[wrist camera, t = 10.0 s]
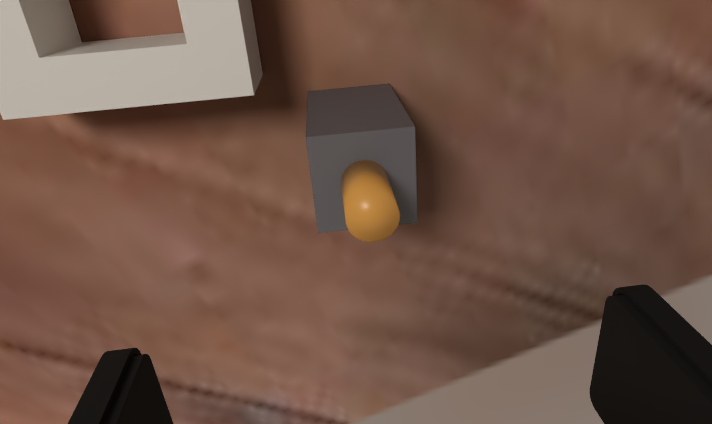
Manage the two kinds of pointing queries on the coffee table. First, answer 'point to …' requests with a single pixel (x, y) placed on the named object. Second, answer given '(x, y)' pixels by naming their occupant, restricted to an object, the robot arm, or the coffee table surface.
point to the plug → (361, 161)
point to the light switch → (123, 60)
